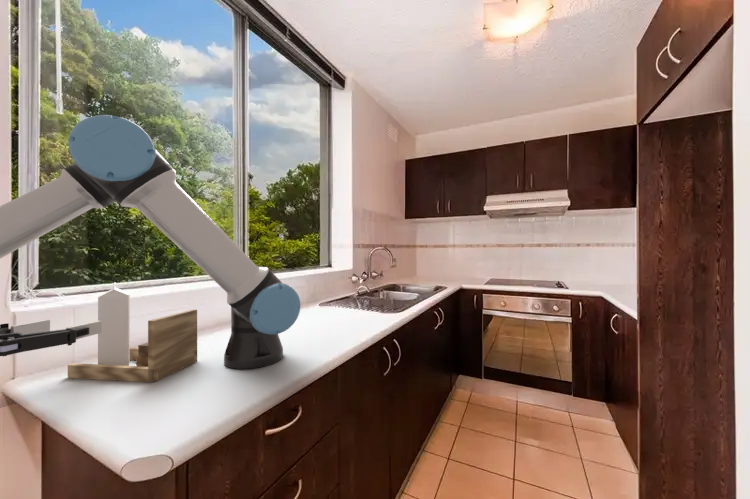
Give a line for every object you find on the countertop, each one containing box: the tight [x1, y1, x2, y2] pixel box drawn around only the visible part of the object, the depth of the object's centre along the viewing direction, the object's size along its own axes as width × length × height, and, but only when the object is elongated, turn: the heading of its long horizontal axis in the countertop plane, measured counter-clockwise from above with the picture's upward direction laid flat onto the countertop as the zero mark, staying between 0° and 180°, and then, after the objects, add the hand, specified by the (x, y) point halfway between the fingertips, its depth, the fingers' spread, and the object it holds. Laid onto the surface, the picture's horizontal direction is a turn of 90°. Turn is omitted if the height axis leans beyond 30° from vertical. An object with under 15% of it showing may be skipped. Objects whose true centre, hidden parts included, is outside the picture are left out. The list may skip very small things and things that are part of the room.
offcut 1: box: [137, 341, 148, 356], centre depth 78 cm, size 5×6×2 cm
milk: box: [97, 281, 131, 366], centre depth 80 cm, size 6×6×22 cm
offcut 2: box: [135, 356, 148, 367], centre depth 78 cm, size 5×7×2 cm
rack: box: [67, 309, 198, 383], centre depth 79 cm, size 23×14×14 cm, turn 82°
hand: (74, 326), depth 70 cm, fingers open, 13 cm apart
